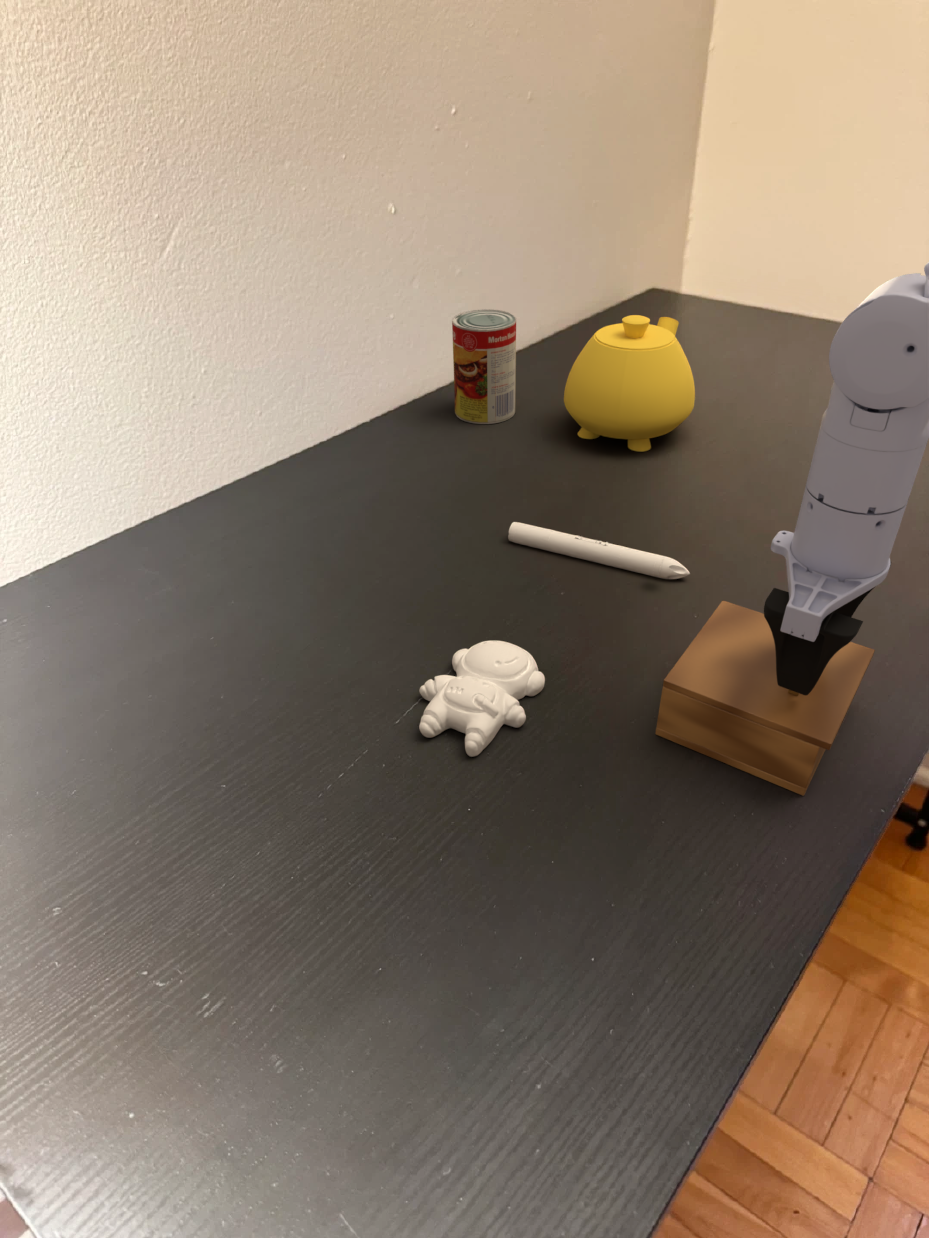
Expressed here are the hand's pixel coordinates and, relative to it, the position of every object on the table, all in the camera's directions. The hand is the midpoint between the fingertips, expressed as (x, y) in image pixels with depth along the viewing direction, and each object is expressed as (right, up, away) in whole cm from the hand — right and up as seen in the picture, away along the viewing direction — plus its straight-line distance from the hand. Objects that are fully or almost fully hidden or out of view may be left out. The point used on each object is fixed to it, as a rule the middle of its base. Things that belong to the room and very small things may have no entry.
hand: (806, 664), depth 59 cm
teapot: (-3, +28, +48) cm, 55 cm away
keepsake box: (-2, -4, +5) cm, 7 cm away
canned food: (-21, +30, +52) cm, 63 cm away
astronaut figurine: (-23, -3, +7) cm, 24 cm away
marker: (-11, +9, +23) cm, 27 cm away
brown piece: (-2, -1, +2) cm, 3 cm away
